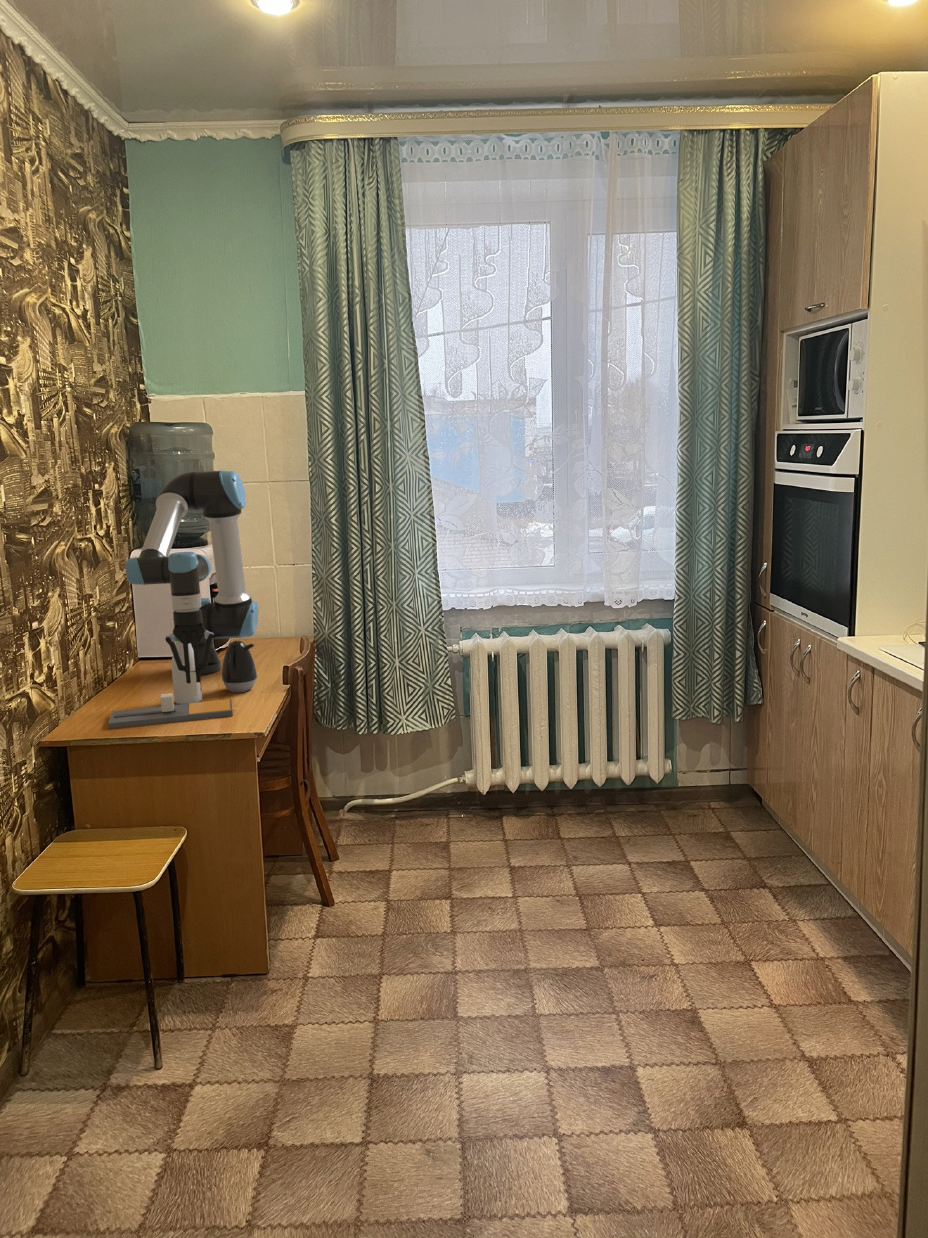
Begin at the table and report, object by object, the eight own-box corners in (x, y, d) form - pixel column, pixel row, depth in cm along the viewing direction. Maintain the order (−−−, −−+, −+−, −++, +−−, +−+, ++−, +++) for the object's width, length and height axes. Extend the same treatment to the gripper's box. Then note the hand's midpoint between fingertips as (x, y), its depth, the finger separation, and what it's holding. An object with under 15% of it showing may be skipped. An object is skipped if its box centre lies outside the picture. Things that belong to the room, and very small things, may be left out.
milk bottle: (201, 704, 277) (194, 635, 273) (173, 706, 276) (166, 637, 272) (203, 696, 285) (197, 630, 281) (176, 699, 283) (170, 632, 280)
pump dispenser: (250, 695, 285) (246, 644, 282) (217, 694, 287) (212, 644, 284) (264, 686, 294) (260, 637, 291) (232, 685, 296) (228, 636, 293)
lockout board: (113, 716, 268) (112, 710, 268) (231, 704, 275) (231, 698, 275) (108, 728, 256) (108, 722, 256) (232, 715, 264) (232, 709, 264)
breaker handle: (162, 708, 267) (161, 694, 266) (174, 707, 268) (172, 693, 267) (162, 712, 263) (160, 697, 262) (173, 710, 264) (172, 696, 263)
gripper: (161, 613, 257) (169, 700, 261) (212, 609, 260) (219, 695, 264) (162, 609, 264) (170, 693, 268) (212, 605, 267) (219, 688, 271)
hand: (194, 694), depth 266 cm, fingers closed
